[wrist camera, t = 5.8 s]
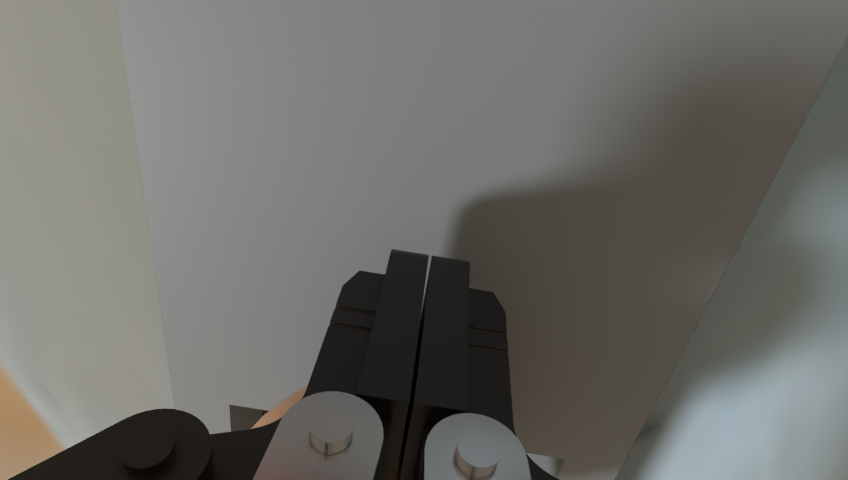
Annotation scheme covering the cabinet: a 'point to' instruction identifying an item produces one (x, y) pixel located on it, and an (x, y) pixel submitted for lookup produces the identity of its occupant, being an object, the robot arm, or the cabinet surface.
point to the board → (462, 181)
